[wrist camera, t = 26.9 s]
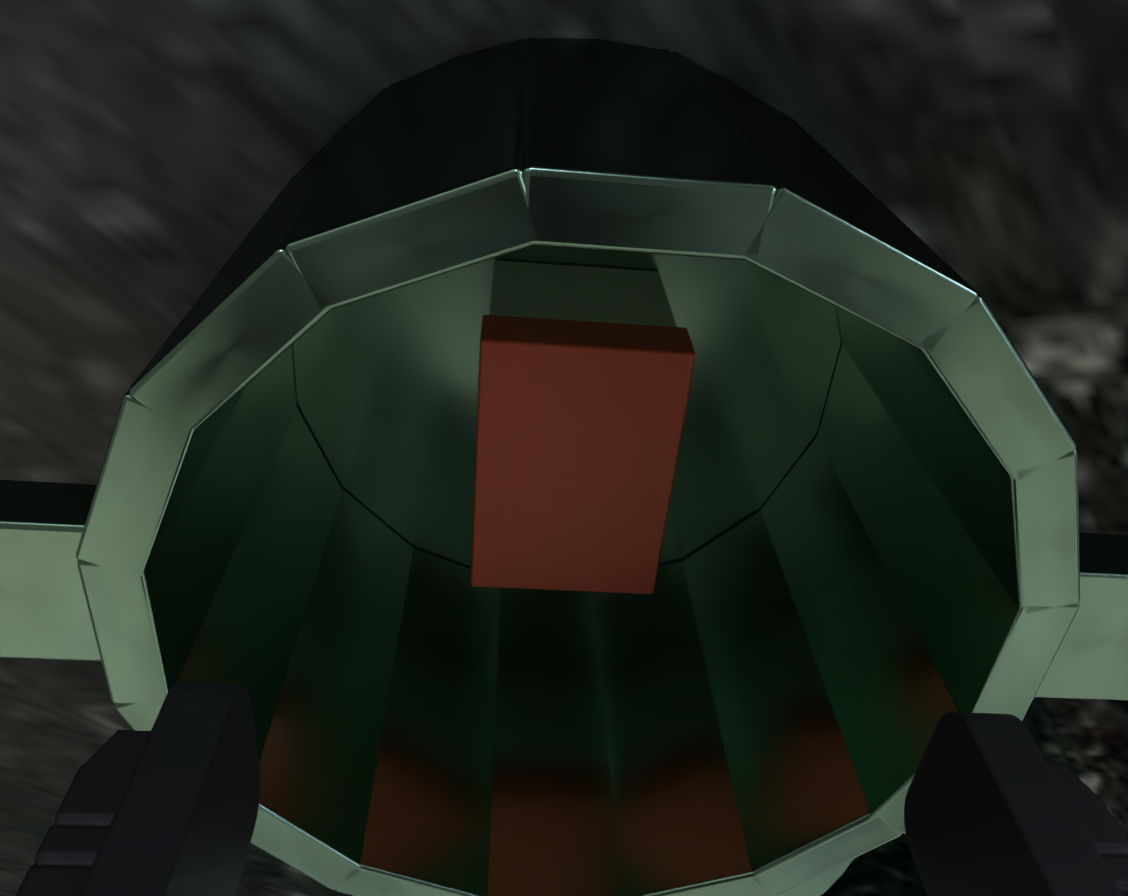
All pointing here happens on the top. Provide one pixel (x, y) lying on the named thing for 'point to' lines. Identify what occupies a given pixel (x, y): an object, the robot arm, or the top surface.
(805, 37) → the top surface
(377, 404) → the pot
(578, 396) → the block
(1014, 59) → the top surface
